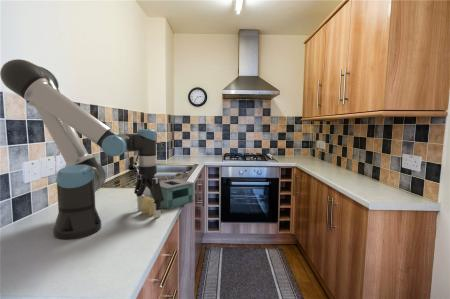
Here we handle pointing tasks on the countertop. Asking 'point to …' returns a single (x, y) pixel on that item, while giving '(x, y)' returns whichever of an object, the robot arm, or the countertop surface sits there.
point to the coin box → (175, 193)
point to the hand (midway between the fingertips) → (148, 213)
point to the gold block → (148, 206)
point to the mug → (146, 192)
